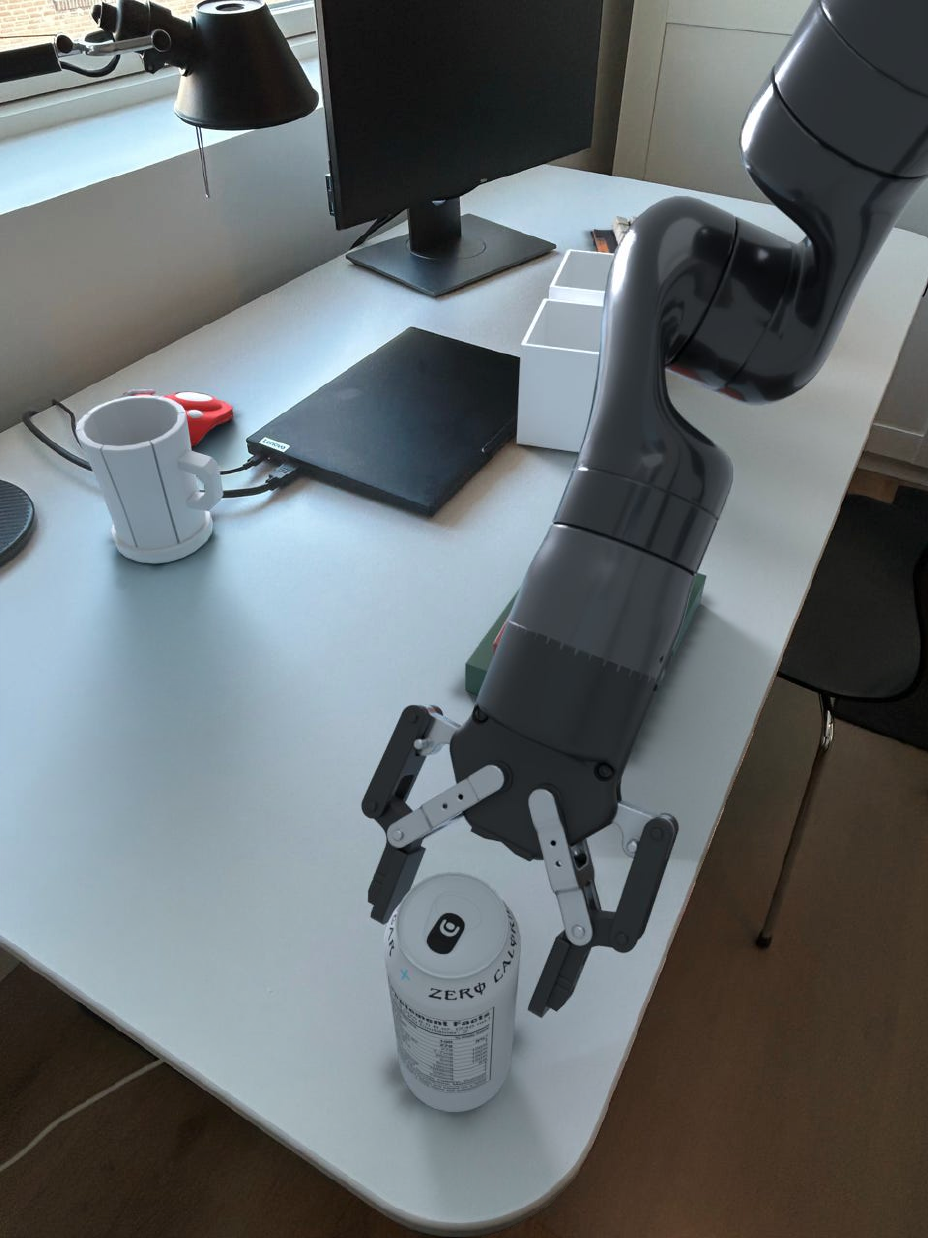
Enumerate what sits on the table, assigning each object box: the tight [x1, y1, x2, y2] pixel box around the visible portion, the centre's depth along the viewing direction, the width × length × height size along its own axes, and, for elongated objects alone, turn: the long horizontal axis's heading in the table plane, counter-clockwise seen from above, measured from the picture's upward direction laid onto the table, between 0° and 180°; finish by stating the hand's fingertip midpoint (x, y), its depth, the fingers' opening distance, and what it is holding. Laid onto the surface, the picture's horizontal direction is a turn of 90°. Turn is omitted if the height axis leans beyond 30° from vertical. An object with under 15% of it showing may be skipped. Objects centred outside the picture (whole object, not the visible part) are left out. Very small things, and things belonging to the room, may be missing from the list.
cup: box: [75, 395, 224, 564], centre depth 77 cm, size 10×9×12 cm
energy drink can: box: [383, 871, 522, 1113], centre depth 42 cm, size 6×6×15 cm
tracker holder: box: [115, 389, 234, 447], centre depth 93 cm, size 12×4×10 cm
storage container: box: [516, 248, 614, 453], centre depth 96 cm, size 25×11×11 cm, turn 165°
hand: (459, 962), depth 41 cm, fingers open, 8 cm apart
